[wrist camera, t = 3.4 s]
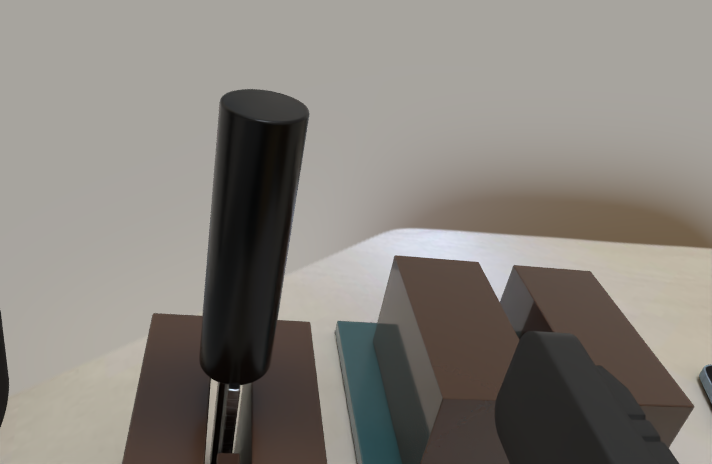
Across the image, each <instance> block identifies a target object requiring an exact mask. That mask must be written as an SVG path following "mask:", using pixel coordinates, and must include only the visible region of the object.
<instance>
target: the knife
mask: <svg viewBox="0 0 712 464" xmlns="http://www.w3.org/2000/svg"><path fill="white" fill-rule="evenodd" d="M308 118H309V110H308V108H307V107H306V106H305V105H304V104H303V103H301V102H300V101H298V100H296V99H294V98H292V97H289V96H287V95H284V94H280V93H276V92H272V91H265V90H255V89H254V90H253V89H247V90H246V89H245V90H237V91H231V92H229V93H226V94H225V95H224V96H222V98H221V100H220V105H219V118H218V130H217V143H216V155H215V167H214V181H213V192H212V205H211V217H210V229H209V242H208V255H207V268H206V279H205V292H204V304H203V316H202V329H201V341H200V354H199V362H200V366H201V368H202V370H203V371H204V372H205V374H206V375H207V376H209V377H210V378H211V379H213V380H215V381H217V382H220V383H223V384H225V391H224V400H223V409H222V418H221V427H220V436H219V445H218V453H232V449H233V441H234V433H235V426H236V418H237V410H238V402H239V394H240V385H245V384H249V383H252V382H255V381H257V380H259V379H260V378H261V377H263V376H264V375H265V374H266V372H267V371H268V369H269V367H270V364H271V357H272V351H273V344H274V338H275V332H276V325H277V319H278V312H279V306H280V299H281V293H282V287H283V280H284V274H285V266H286V261H287V254H288V248H289V242H290V235H291V229H292V222H293V216H294V209H295V203H296V196H297V190H298V184H299V176H300V170H301V164H302V158H303V151H304V145H305V139H306V132H307V126H308Z"/></svg>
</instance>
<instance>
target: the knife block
mask: <svg viewBox="0 0 712 464" xmlns="http://www.w3.org/2000/svg"><path fill="white" fill-rule="evenodd" d="M201 329H202V316H194V315H175V314H158V313H154V314H153V315H152V320H151V324H150V329H149V334H148V339H147V344H146V349H145V354H144V359H143V363H142V368H141V373H140V378H139V383H138V388H137V393H136V398H135V403H134V408H133V412H132V417H131V422H130V427H129V432H128V437H127V442H126V447H125V452H124V456H123V461H122V464H205V450H206V437H207V423H208V410H209V396H210V383H211V378H210V377H209V376H207V375H206V374H205V372H204V371H203V370H202V368H201V366H200V362H199V354H200V341H201ZM224 391H225V384H223V383H220V382H218V386H217V396H216V405H215V415H214V425H213V435H212V444H211V454H210V464H327V459H326V450H325V442H324V434H323V425H322V417H321V409H320V400H319V392H318V384H317V375H316V367H315V359H314V350H313V342H312V334H311V325H310V322H302V321H284V320H277V325H276V332H275V338H274V344H273V351H272V357H271V364H270V367H269V369H268V371H267V372H266V374H265V375H264V376H263V377H261V378H260V379H259V380H257V381H255V382H252V383H249V384H245V385H243V388H242V396H241V404H240V412H239V419H238V427H237V435H236V442H235V450H234V453H218V445H219V436H220V427H221V418H222V409H223V400H224Z"/></svg>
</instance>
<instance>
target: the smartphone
mask: <svg viewBox="0 0 712 464" xmlns="http://www.w3.org/2000/svg"><path fill="white" fill-rule="evenodd" d="M699 378H700V380H701V382H702V384H703V387H704V389H705V391H706V393H707V395H708V397H709V399H710V401H711V403H712V365H706V366H704V368H703V370H702V371H701V373H700V374H699Z"/></svg>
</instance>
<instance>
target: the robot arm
mask: <svg viewBox="0 0 712 464" xmlns="http://www.w3.org/2000/svg"><path fill="white" fill-rule="evenodd" d="M8 393H9V377H8V370H7V360H6V352H5V344H4V336H3V327H2V319H1V312H0V427H1V424H2V421H3V418H4V415H5V411H6V407H7V401H8ZM645 416H646V414H645V413H644V411H643V410H642V408H641V407H640V405H639V404H638V403H637V401H636V400H635V398H634V397H633V395H632V394H631V392H630V391H629V389H628V388H627V387H626V386H624V385H623V384H622V383H621V382H620V381H619V380H618V379H616V378H615V377H614V376H613V375H612V374H611V373H610V372H608V371H607V370H606V369H605V368H604V367H603V366H600V365H595V364H594V362H593V361H592V359H591V358H590V356H589V355H588V353H587V351H586V350H585V348H584V347H583V345H582V344H581V342H580V341H579V339H578V338H577V337H576V336H575V335H573V334H570V333H556V332H538V331H527V332H526V333H524V334H523V335H522V337H521V338H520V340H519V343H518V345H517V348H516V350H515V353H514V355H513V358H512V360H511V363H510V365H509V368H508V370H507V373H506V375H505V378H504V380H503V383H502V385H501V388H500V390H499V393H498V395H497V398H496V403H495V425H496V430H497V434H498V436H499V439H500V441H501V444H502V446H503V449H504V451H505V454H506V456H507V458H508V461H509V463H510V464H679V463H678V461H677V460H676V459H675V457H674V456H673V454H672V453H671V451H670V450H669V448H668V447H667V445H666V444H665V442H661V441H660V437H661V436H660V435H659V433H658V432H657V431H656V429H655V428H654V426H653V425H652V423H651V422H650V420H646V418H645Z"/></svg>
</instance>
